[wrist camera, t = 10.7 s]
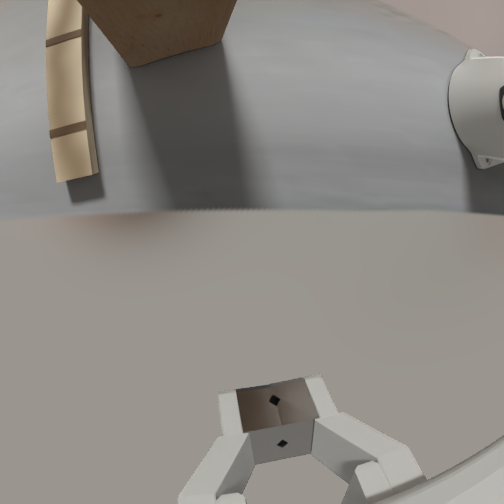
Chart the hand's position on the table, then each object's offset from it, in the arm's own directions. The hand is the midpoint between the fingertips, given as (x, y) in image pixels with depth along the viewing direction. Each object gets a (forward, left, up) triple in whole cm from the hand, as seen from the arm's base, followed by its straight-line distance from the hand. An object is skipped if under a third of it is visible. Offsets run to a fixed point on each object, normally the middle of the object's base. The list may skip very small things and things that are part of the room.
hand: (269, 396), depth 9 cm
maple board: (+13, -16, -27) cm, 34 cm away
